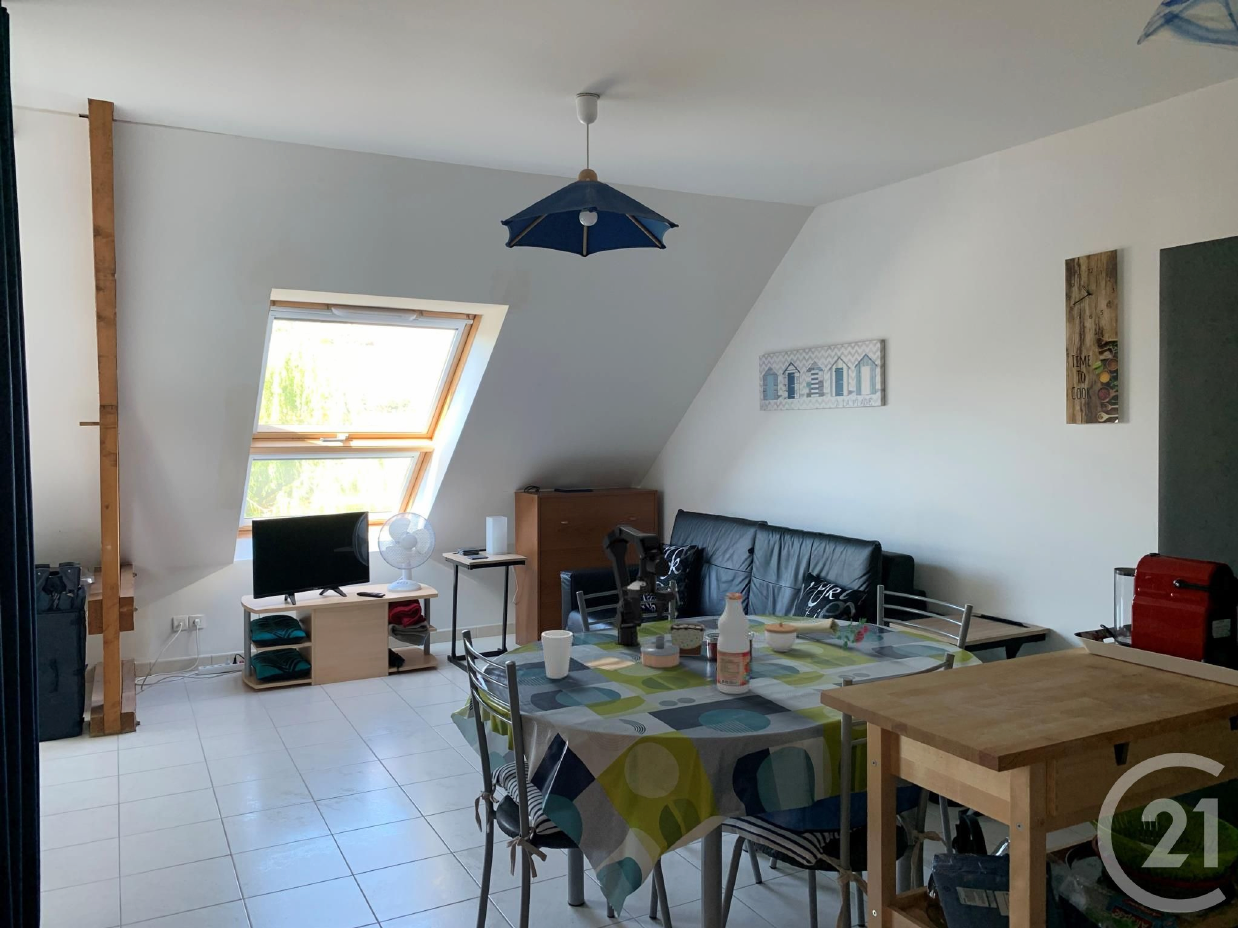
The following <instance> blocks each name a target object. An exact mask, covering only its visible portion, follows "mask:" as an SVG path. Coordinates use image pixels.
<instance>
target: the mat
mask: <svg viewBox="0 0 1238 928" xmlns="http://www.w3.org/2000/svg"><path fill="white" fill-rule="evenodd" d="M635 664H637V662H633V661H629V660H624V659H620V658H616V657H611V656H606V657H603V658H599V659H596V660H593V661H590V662H585V663H584V664H583V665H585V666H589V667H593V668H597V669H602V670H606V671H609V672H615V671H616V670H620V669H622V668H626V667H629V666H633V665H635Z"/></svg>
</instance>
